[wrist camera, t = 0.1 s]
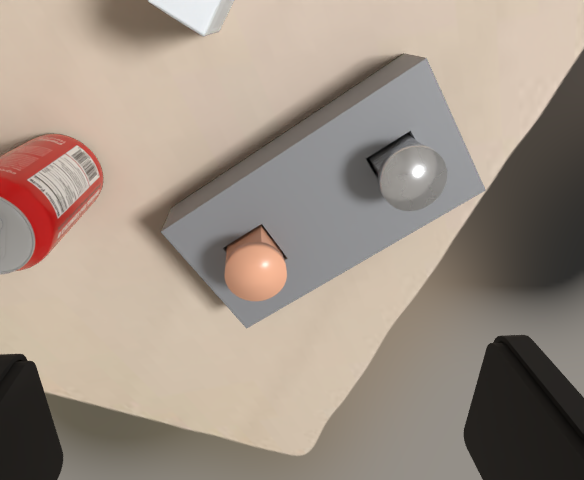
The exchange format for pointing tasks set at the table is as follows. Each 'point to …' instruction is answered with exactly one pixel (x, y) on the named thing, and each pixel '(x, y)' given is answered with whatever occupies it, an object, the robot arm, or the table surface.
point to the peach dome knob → (255, 266)
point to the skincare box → (197, 13)
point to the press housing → (325, 187)
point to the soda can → (43, 196)
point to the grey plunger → (409, 173)
